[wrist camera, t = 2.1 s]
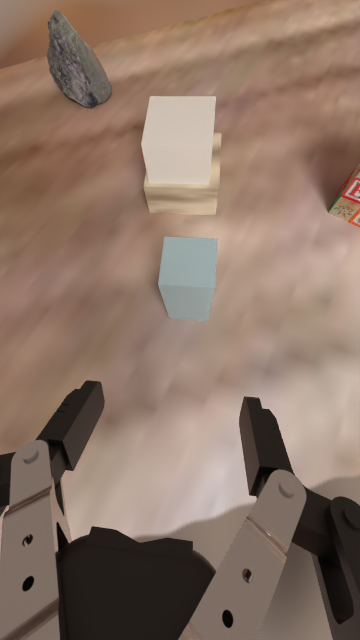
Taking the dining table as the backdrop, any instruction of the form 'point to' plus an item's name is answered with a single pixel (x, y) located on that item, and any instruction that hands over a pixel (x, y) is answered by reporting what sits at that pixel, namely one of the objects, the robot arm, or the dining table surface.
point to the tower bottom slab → (187, 191)
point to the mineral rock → (75, 64)
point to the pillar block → (188, 276)
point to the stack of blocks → (349, 199)
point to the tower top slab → (179, 139)
